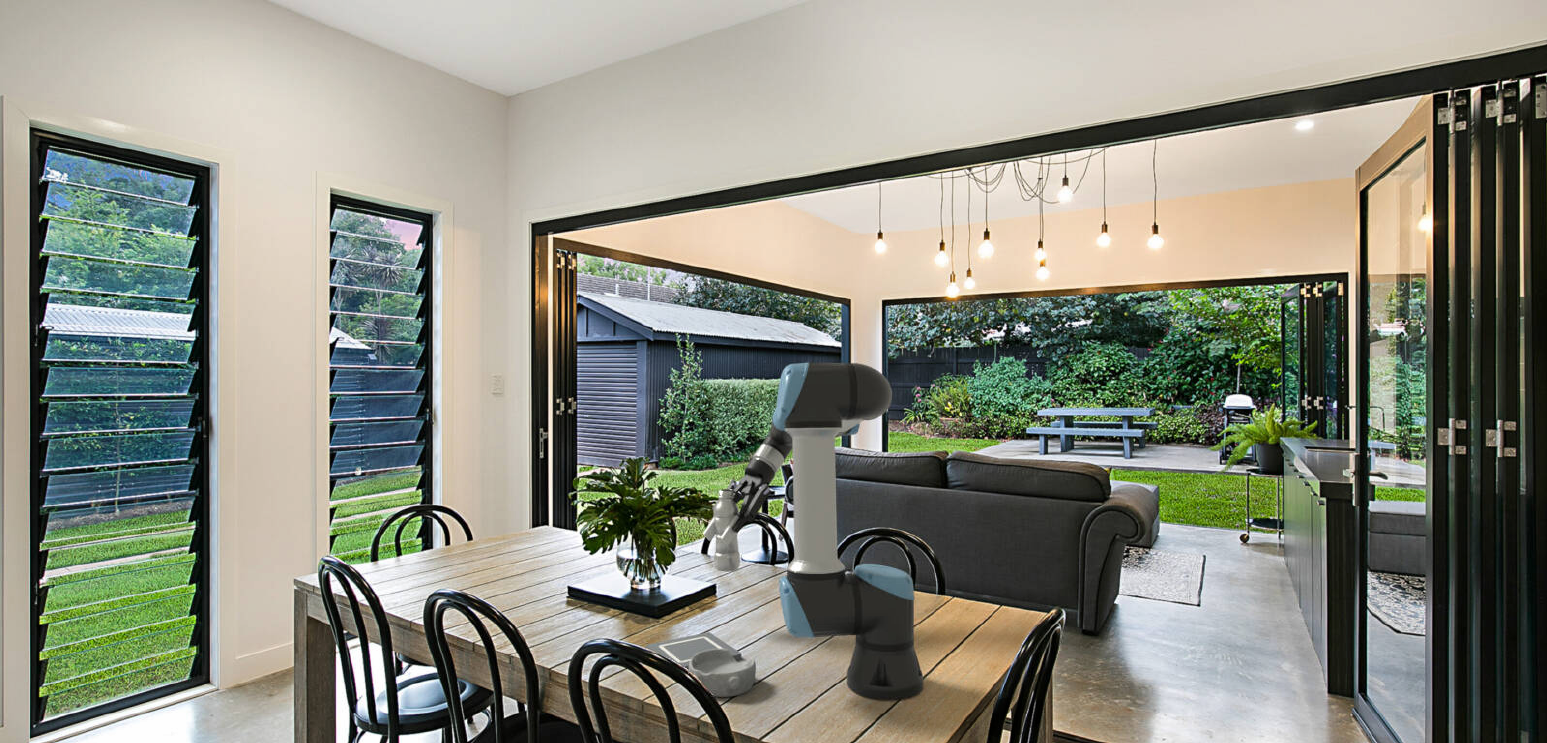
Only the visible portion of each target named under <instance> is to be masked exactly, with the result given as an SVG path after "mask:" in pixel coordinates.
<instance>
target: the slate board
mask: <svg viewBox="0 0 1547 743" xmlns="http://www.w3.org/2000/svg"><path fill="white" fill-rule="evenodd" d="M646 648H648V649H650V650H652V651H654V652H656V653H660V654H661V655H663V656H665V657H667V658H670V659H671V660H673V661H675V662H676V663H678V664H680V665H681V666H682V667H685V668H687V669H688V670H689V662H690V660H691V658H692V657H694V655H695V654H697V653H700V652H702V651H706V650H710V649H728V650H729V652H730V654H731V655H732V656H733V658H734V659H735V660H736V661H738V660H742V653H741V652H740V651H738V650H737V649H735V648H734V647H732V646H730V645H729V644H728V643H726V642H725V641H723V640H722V639H720V638H719V637H717V636H716V635H714V634H713V633H711V632H704V633H703V632H702V633H698V634H693V635H689V636H683V637H678V638H674V639H669V640H668V639H667V640H664V641H658V642H654V643H650V644H646V645H645V649H646Z"/></svg>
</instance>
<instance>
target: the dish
mask: <svg viewBox="0 0 1547 743" xmlns="http://www.w3.org/2000/svg"><path fill="white" fill-rule="evenodd" d="M756 664H757V663H756V660H755V658H753V657H751V658H750V659H749V661H748V662H747V663H746V664H742V663H739V662H738V660H735V659H734V658H733V656H732V655H731V654H730V652H729V650H728V649H710V650H706V651H702V652H700V653H697V654H695V655H694V657H692V658H691V660H690V662H689V671H688V673H689V672H691V673H692V674H693V675H695V676H696V677H697V678H698V679H699V680H700V681H701V683H702V684H703V685H704V686H705V687H706V688H707V689H708V690H709V691H710V692H711V693H712V694H713V695H714V696H713V697H716V698H717V697H719V698H723V697H725V698H727V697H736V696H739V695H743V694H745V693H747V692H748V691H750V690H751V689H752V688H753V686H754V683H755V680H756V672H757V671H756V670H757V666H756Z"/></svg>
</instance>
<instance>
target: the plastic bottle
mask: <svg viewBox="0 0 1547 743" xmlns="http://www.w3.org/2000/svg"><path fill="white" fill-rule="evenodd" d="M719 498H720V500H719ZM733 498H734V491H733V489H727V488H725V489H724V488H723V489H722V488H721V489H719V490H718V500H719V502H718V503H717V504H716V503H715V504H716V506H715V508H714V511H713V516H714V521H715V528H716V534H715V549H714V556H713V564H714V568H715V569H716V570H717V571H720V572H725V573H728V572H733V571H737V570H738V569H739V567H740V565H741V556H740V555H741V554H740V552H739V543H738V542H739V541H738V532H737V533H736V534H735V536H734V538H733V539H732V541H731V542H730V544H729V545H726V544H725V542H724V541H723V540H722V539H721V536H722V535H723V533H724V532H725V530H726V529H727V527H728V526H729V524H730V523H731V521H732V520H733V518H734V517H735V516H736V517H737V518H739V517H738V516H737V515H736V514H737V513H739V512H740V509H739V507H738V504H736V503H735V502H734V501H733Z"/></svg>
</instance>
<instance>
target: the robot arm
mask: <svg viewBox="0 0 1547 743" xmlns="http://www.w3.org/2000/svg"><path fill="white" fill-rule="evenodd" d="M892 399H893V392H892V387H891V385H890V382H889V380H888V379H887V378H886V376H884V375H883V373H881V372H880V371H879V370H877V369H876V368H874V367H872V366H869V365H866V364H863V363H857V362H850V363H848V362H847V363H846V362H845V363H840V362H839V363H838V362H837V363H834V362H832V363H831V362H802V363H799V362H798V363H791V364H788V365H786V366H785V367H784V369H783V370H782V372H781V375H780V381H779V385H778V390H777V399H776V408H775V410H774V412H773V415H772V421H771V426H770V429H769V432H768V433H767V435H766V437H765V439H764V440H763V442H762V443H761V445H759V447H758V448H757V450H756V451H755V453H754V454H753V456H752V459H750V461H749V462H748V464H746V466H745V468H744V475H743V477H742V478H741V479H739V481H738V480H737V481H736V480H735V479H731V480H730V482H729V483H728V486H727V488H726V489H733V491H734V498H733V501H734V502H735V503H736V505H738V503H740V501H742V505H741V507H740V509H739V513H737V514H736V515H737V516H738V517H739V518H737V517H736V516H735V517H734V518H733V520H732V521H731V523H730V524H729V526H728V527H727V529H726V530H725V532H724V533H723V535H722V536H721V539H722V540H723V541H724V542H725V544H726V545H729V544H730V542H731V541H732V539H733V538H734V536H735V534H736V533H737V534H738V533H739V532H740V530H741V529H742V527H743V525H744V524H746V523H748V522H750V523H752V522H753V521H754V519H755V518H756V517H757V515H758V513H759V511H760V509H761V508H762V506H763V505H764V502H765V501H766V499H767V497H769V496H770V494H771V493H772V489H770V487H769V486H770V484H771V483H772V481H773V480H774V478H775V477H776V474H778V471H779V470H780V468H781V467H782V465H783V464H784V462H785V461H786V459H787V457H788V456H789V454H790V453H792V481H793V482H792V486H793V491H792V492H793V500H792V501H793V546H794V548H793V550H794V551H793V552H794V554H793V555H794V558H793V559H792V561H791V562H790V563H788V565H787V566H786V575H783V576H781V577H780V578H779V582H778V583H779V584H778V585H779V588H778V589H779V596H780V605H781V609H782V615H783V619H784V623H785V627H786V629H787V632H788V633H789V634H790V635H791V636H792V637H794V638H810V639H815V638H827V637H829V638H830V637H843V636H844V637H845V636H846V637H847V636H855V642H854V644H855V645H854V647H853V648H854V649H853V652H852V655H851V659H850V664H849V666H848V668H847V670H846V685H847V687H848V689H850V690H851V691H852V692H853V693H855V694H856V695H859V696H862V697H865V698H868V699H873V700H877V701H878V700H879V701H901V700H902V701H904V700H907V699H911V698H913V697H916V696H918V695H920V694H921V693H922V691H923V690H924V675H923V671H922V670H921V665H920V662H919V658H918V655H917V652H916V649H915V624H914V623H915V622H914V621H915V615H914V614H915V606H914V605H915V604H914V603H915V602H914V601H915V591H914V584H913V578H912V577H911V576H910V574H908V573H907V572H906V571H904V570H903V569H902V570H901V569H900V568H895V567H892V566H888V565H882V564H875V563H862V564H858V565H856V566H855V568H854V571H853V573H852V574H851V573H849V574H848V573H847V574H846V566H845V565H844V564H843V563H842V562H841V560H840V559H839V558H838V531H837V530H838V528H837V527H838V526H837V525H838V524H837V486H836V485H837V483H836V480H837V478H836V475H837V474H836V443H835V442H836V440H835V439H836V437H837V436H844V437H845V436H854V435H856V434H858V432H859V429H860V428H861V427H860V426H861V423H863V421H872V420H875V419H877V418H879V417H881V416H882V415H884V414H885V413H886V412H887V411H888V409H889V408H890V406H891V403H892ZM791 451H792V452H791ZM719 500H720V498H719V497H718V499H717V501H716V502H715V504H714V505H713V506H712V509H711V510H713V511H714V508H715V506H716V504H717V503H718V502H719ZM702 535H703V536H704V537H705V538H706V539H707V540H708V541H712V539H713V538H714V537H715V536H716V528H715V521H714V515H713V517H712V518H711V519H710V521H709V523H708V525H707V526H706V528H705V529H704V531H703V533H702Z"/></svg>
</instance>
